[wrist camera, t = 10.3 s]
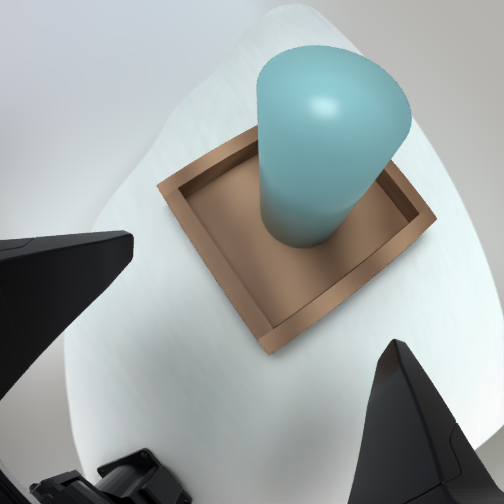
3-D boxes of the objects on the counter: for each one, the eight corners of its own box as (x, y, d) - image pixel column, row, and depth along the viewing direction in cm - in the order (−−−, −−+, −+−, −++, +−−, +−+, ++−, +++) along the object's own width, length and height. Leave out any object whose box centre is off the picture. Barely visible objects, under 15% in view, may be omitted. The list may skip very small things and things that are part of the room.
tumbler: (329, 258, 21) (408, 183, 8) (249, 234, 21) (233, 129, 9) (346, 186, 22) (410, 73, 10) (273, 164, 22) (279, 34, 10)
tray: (267, 351, 20) (268, 355, 17) (167, 201, 23) (156, 185, 20) (419, 230, 22) (437, 218, 19) (319, 113, 25) (324, 92, 22)
